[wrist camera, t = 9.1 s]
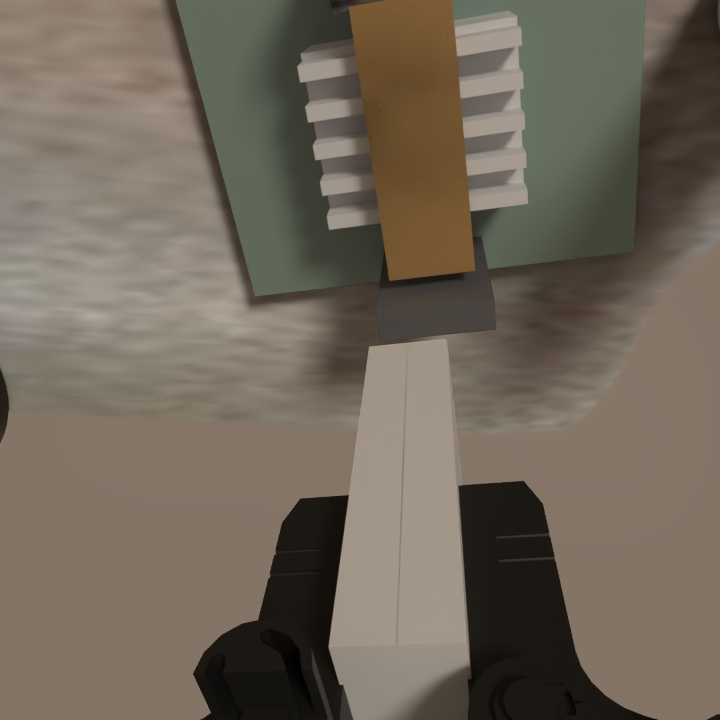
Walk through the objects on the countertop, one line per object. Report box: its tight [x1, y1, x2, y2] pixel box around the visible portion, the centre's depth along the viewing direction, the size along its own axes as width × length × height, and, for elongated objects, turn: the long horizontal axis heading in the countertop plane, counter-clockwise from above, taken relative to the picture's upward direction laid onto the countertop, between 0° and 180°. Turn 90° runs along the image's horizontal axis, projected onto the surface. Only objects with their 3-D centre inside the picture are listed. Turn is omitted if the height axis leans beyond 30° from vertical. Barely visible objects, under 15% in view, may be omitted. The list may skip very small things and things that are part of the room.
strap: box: [330, 0, 475, 281], centre depth 21 cm, size 4×10×1 cm, turn 9°
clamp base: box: [176, 0, 646, 341], centre depth 23 cm, size 16×14×7 cm
